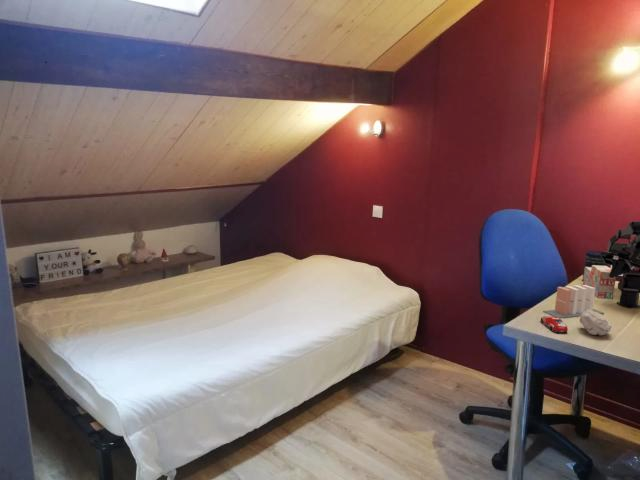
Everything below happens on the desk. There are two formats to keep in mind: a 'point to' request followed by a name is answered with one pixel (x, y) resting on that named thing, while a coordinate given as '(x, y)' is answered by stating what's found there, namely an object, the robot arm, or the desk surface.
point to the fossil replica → (595, 323)
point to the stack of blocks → (600, 281)
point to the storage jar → (593, 259)
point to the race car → (554, 324)
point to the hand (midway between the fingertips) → (610, 277)
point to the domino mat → (558, 315)
